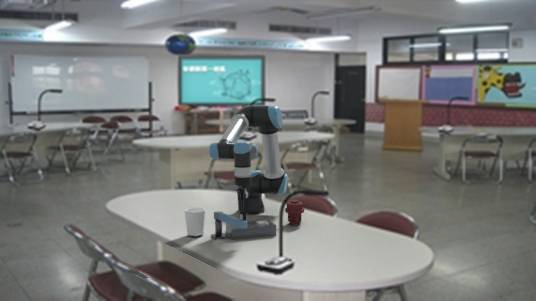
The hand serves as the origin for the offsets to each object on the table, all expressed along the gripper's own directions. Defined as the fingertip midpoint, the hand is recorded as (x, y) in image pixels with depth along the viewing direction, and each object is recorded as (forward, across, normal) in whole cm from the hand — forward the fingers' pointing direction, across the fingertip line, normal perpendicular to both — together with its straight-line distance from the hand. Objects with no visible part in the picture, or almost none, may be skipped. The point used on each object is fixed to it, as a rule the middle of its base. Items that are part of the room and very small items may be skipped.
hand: (243, 227), depth 246 cm
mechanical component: (+8, -26, +35) cm, 44 cm away
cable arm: (-1, -6, -5) cm, 8 cm away
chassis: (+8, -15, +8) cm, 19 cm away
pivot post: (+8, -16, -8) cm, 19 cm away
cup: (+8, -22, -18) cm, 29 cm away
